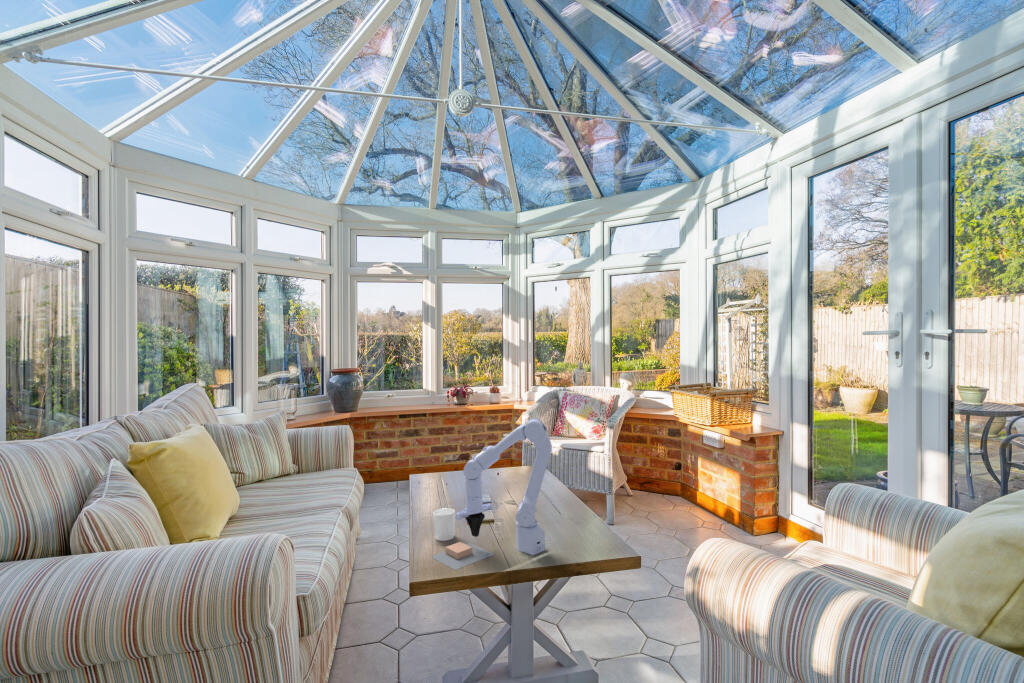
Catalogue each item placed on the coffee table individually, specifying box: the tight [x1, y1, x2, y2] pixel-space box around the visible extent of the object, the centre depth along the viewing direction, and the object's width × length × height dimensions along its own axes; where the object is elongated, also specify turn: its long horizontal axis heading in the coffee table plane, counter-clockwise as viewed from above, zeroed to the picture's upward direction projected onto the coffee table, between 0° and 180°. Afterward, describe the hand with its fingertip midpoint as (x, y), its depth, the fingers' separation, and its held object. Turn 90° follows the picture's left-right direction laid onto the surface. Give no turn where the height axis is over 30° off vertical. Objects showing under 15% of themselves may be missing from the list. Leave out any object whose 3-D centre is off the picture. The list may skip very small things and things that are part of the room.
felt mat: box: [430, 542, 495, 571], centre depth 161 cm, size 14×16×1 cm
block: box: [444, 541, 473, 559], centre depth 163 cm, size 7×2×6 cm
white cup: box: [432, 507, 456, 542], centre depth 178 cm, size 8×8×10 cm
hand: (475, 535), depth 168 cm, fingers closed
